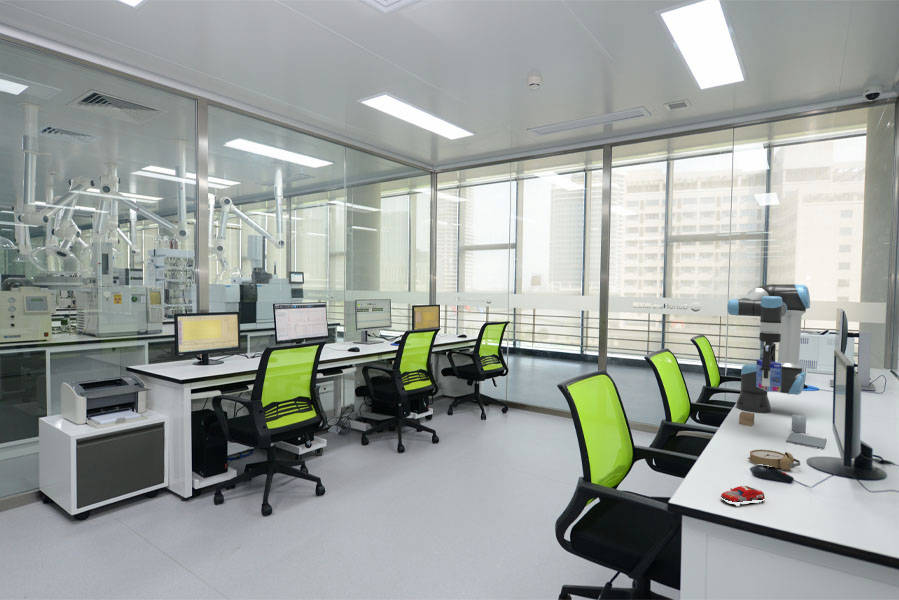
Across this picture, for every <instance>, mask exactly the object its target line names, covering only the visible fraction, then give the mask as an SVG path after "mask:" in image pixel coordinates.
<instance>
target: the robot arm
mask: <svg viewBox="0 0 899 600" xmlns="http://www.w3.org/2000/svg"><path fill="white" fill-rule="evenodd" d="M810 307H811V298H810V293H809V288H808V287H807V286H806V285H805V284H797V283H795V284H793V283H792V284H786V283H785V284H782V283H781V284H778V283H777V284H773V283H772V284H765V285H760V286H758V287H757V286H756V287H754V288H753V289H750V290H749V291H748V293H747V294H746V295H745V296H743V297H741V298H730V299H729V300H728V302H727V308H726V309H727V313H728V315H730V316H736V317H737V316H739V317H741V316H742V317H743V316H744V317H758V318H759V317H760V318H759V321H760V322H759V324H758V327H759V331H760V332H759V338H758V339H759V341H760V342H765V345H763V346H762V347H763V348H762V351H763V352H762V359H761V360H762V368H760V370H762V386H769V387H770V363H771V361H774V362H776V348H777V346H776V343H778V348H777V349H778V350H777V362H778V363H781V392H779V393H782V394H787V395H800V394H802V392H803V390H804V387H805V382H806V377H807V373H806V372H805V371H803V367H802V365H800V350H801V334H802V332H801V331H802V319H803V318H802V316H803V315H804V314H806V312H807V310H808V309H811V308H810ZM806 309H807V310H806ZM756 368H757V363H749V364H748V363H747V364H744V365H743V366H742V367H741V373H740V393H739V395H738V398H737V400H736V402H735V403H736V404H735V405H736V406H735V407H736V408H737V409H739V410H743V411H745V412H747V411H748V412H750V413H752V412H753V413H761V414H762V413H763V414H765V413H766V414H767V413H771V412H772V406H771V403H770V399H769V396H768V392H767V391H765V390H763V389H760V388H758V387H756Z"/></svg>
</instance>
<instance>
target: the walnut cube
mask: <svg viewBox="0 0 899 600" xmlns="http://www.w3.org/2000/svg"><path fill="white" fill-rule="evenodd" d="M738 420H739V421H738V422H739V423H738V424H739V425H741V426H746V425H747V426H748V427H753V426H754V425H755V412H753V413H752V412H749V411H748V412H747V411H741V412H740V413H739V418H738Z"/></svg>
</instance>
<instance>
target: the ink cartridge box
mask: <svg viewBox="0 0 899 600" xmlns="http://www.w3.org/2000/svg"><path fill="white" fill-rule="evenodd" d="M762 360H763V359H760V358H759V359H756V364H757V368H756V387H758V388H760V389H763V390H765V391H767V393H770V392H771V393H780V392H781V363H778V361H775V362H774V361H771V363H770V387H769V386H762V370H760V368H762Z"/></svg>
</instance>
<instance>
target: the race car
mask: <svg viewBox="0 0 899 600" xmlns="http://www.w3.org/2000/svg"><path fill="white" fill-rule="evenodd" d="M721 497H722V498H723V499H725V500H728V501H732V502H743V501H752V500H763V499H765V493H764V491H762V490H761V489H759V488H756V487H750V486H747V485H740V486H736V487H733V488H731V487H730V490H727V491H724V492H722V493H721V495H720V498H721Z"/></svg>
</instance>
